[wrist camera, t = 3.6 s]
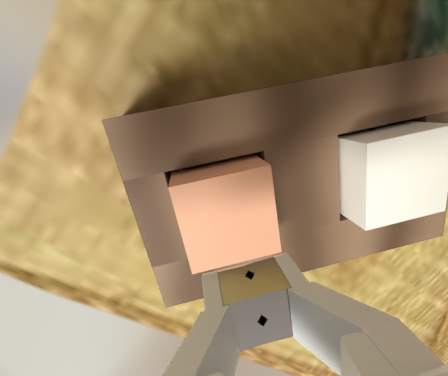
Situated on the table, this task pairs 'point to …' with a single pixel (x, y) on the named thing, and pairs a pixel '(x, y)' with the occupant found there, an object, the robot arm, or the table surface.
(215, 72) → the table surface
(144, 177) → the key console
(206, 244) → the key terracotta
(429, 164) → the key ivory
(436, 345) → the table surface
